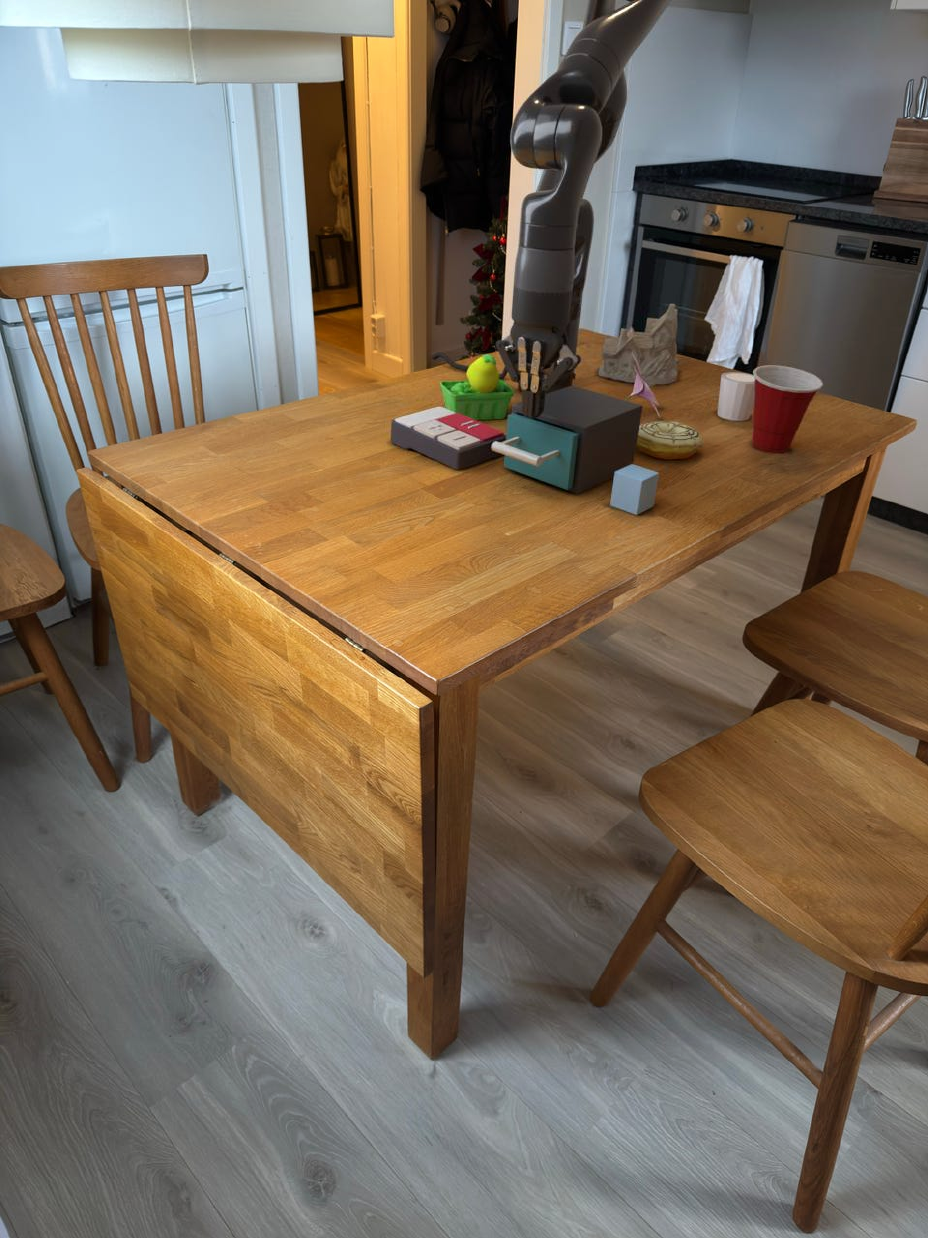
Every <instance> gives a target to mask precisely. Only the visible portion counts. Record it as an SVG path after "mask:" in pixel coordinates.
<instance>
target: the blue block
mask: <svg viewBox="0 0 928 1238" xmlns="http://www.w3.org/2000/svg"><path fill="white" fill-rule="evenodd" d="M659 477H660V472H657V471H655V470H652V469H649V468H645V467H643V466H639V465H638V464H637V465H636V464H635V463H634V464H631V465H629V466H627V467H624V468H622V469H620V470H618V471H616V472H615V474H614V477H613V481H612V488H611V496H610V503H609V506H610V507H613V508H616V509H619V510H622V511H624V512H627V513H630V514H632V515H635V516H638V515H639V514H642V513H644V512H645V511H647V510H649V509H651V508H653V507H654V505H655V499H656V493H657V487H658V481H659Z"/></svg>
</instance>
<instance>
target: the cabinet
mask: <svg viewBox="0 0 928 1238" xmlns="http://www.w3.org/2000/svg"><path fill="white" fill-rule="evenodd" d="M625 400H626V399H622V398H618V397H615V396H611V395H607V394H604V393H600V392H596V391H594V390H591V389H590V390H589V389H586V388H583V387H579V386H576V385H574V384H573V385H572V386H569V387H566V388H563V389H560V390H557V391H554V392H551V393H548V394H545V403H544V404H545V405H544V411H543V414H541V415H540V417H538V418H536V419H539V420H543V421H546V422H549V423H552V424H555V425H558V426H561V427H564V428H568V429H571V430H574V431H577V432H580V433H579V439H578V448H577V456H576V464H575V473H574V481H573V486H572V488H570V489H568V490H566V489H564V488H561V487H558V486H555V485H553V484H550V483H547V482H545V481H542V480H539V479H536V478H534V477H531V476H528V475H525V474H523V473H520V472H517V471H515V470H512V469H509V468H507V469H508V470H511V471H513V472H515V473H519V474H522V475H524V476H527V477H530V478H531V479H535V480H537V481H541V482H543V483H545V484H548V485H551V486H554V487H557V488H559V489H563V490H564V491H567V492H570V493H573V494H576V495H579V494H581V493H582V492H585V491H587V490H589V489H591V488H593V487H595V486H597V485H598V486H599V485H600V484H602V483H603V482H606V481H608V480H610V479H612V478H613V479H614V474H615V472H616V471H618V470H620V469H622V468H624V467H627V466H629V465H631V464H634V465H635V458H636V453H637V452H636V450H637V447H638V446H637V439H638V433H639V426H641V419H642V413H643V405H642V404H640V403H639V404H638V403H635V402H631V401H628V400H627V401H625ZM521 405H522V401H520V402H518V403H515V404H512V408H511V410H512V411H511V414H512V413H514V414H517V415H520V416H523V411H522V408H521Z"/></svg>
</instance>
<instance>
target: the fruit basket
mask: <svg viewBox="0 0 928 1238" xmlns="http://www.w3.org/2000/svg"><path fill="white" fill-rule="evenodd" d="M496 365H497V361H496V358H495V357H494V356H493V355H490V354H487V353H486V354H482V356H480V357H478V358H477V359H476V360H475V361H473V362H471V364H470V365H468V366H469V368H468V370H467V371H466V378H467V380H450V381H449V380H447V381H440V382H439V386H440V389H441V391H442V395H443V402H444V406H445V408H446V409H448V410H450V411H453V412H455V413H460V414H462V415H465V416H467V417H469V418H472V419H474V420H476V421H490V420H503V419H505V417H506V414H507V412H508V409H509V406H510V404H511V401H512V398H513V397H514V395H515V394H516V393H515V392H516V391H515V390H514V389H513V388H512V387H511V386H510V385H508V383H506V382H505V381H504V380H503V379H499V374H500V373H499V369H498V368H497V366H496Z"/></svg>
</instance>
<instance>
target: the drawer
mask: <svg viewBox="0 0 928 1238" xmlns="http://www.w3.org/2000/svg"><path fill="white" fill-rule="evenodd" d="M579 433H580V432H577V431H574V430H571V429H568V428H564V427H561V426H558V425H555V424H552V423H549V422H546V421H543V420H539V419H536V418H535V419H531V418H528V417H525V416H520V415H517V414H514V413H512V412H511V413H509V414H507V422H506V434H505V435H506V441H504V442H501V443H500V442H497V441H495V442H493V444H492V450H493V451H495V452H498V453H501V454H503V455H504V463H503V467H504V468H506V469H508V468H509V469H508V470H510V469H512V470H511V471H513V470H515V471H514V472H516V471H517V472H516V473H518V472H520V473H519V474H521V473H523V474H522V475H524V474H525V475H524V476H526V475H528V476H527V477H529V476H531V477H530V478H532V477H534V478H533V479H535V478H536V479H535V480H537V479H539V480H538V481H540V480H542V481H541V482H543V481H545V482H544V483H546V482H547V483H546V484H548V483H550V484H549V485H551V484H553V485H552V486H554V485H555V486H554V487H556V486H558V487H557V488H559V487H561V488H560V489H562V488H564V489H563V490H565V489H566V490H565V491H567V490H568V489H570V488H572V486H573V481H574V473H575V464H576V456H577V448H578V439H579ZM503 455H502V456H503Z"/></svg>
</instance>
